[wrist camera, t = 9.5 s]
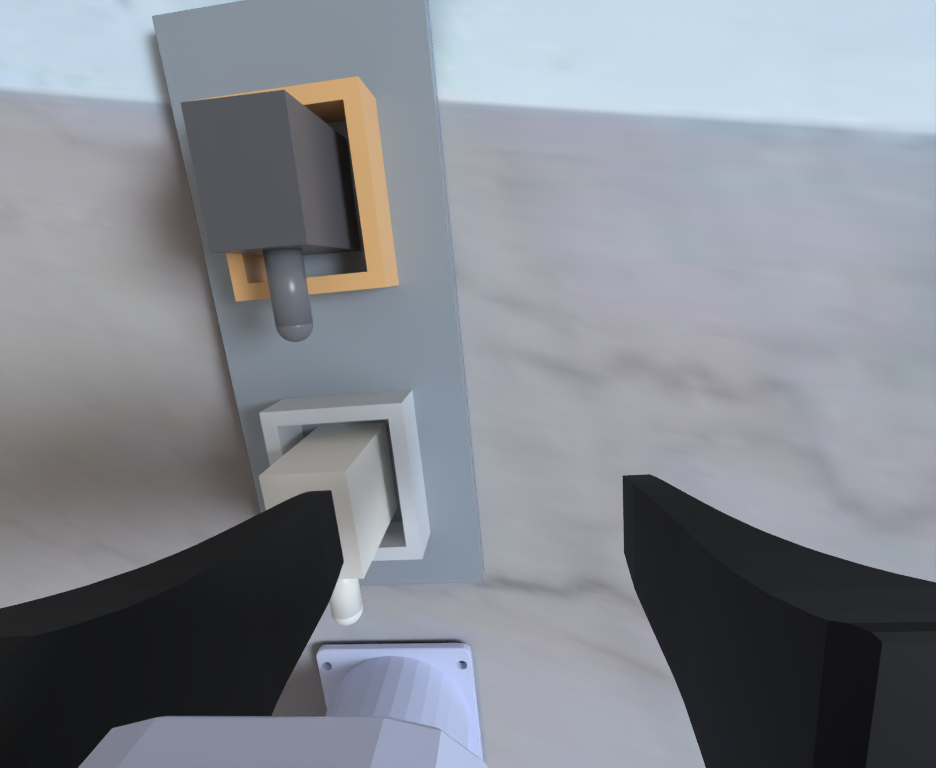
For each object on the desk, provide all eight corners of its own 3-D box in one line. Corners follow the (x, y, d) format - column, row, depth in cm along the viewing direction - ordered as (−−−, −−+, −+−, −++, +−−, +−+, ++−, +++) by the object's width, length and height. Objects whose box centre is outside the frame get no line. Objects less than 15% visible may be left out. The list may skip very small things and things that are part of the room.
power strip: (483, 568, 22) (475, 673, 17) (286, 574, 23) (213, 675, 18) (426, -13, 17) (383, -160, 11) (171, 29, 18) (9, -85, 12)
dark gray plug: (370, 326, 19) (322, 346, 14) (300, 331, 19) (230, 352, 14) (346, 139, 17) (283, 89, 13) (270, 147, 18) (180, 102, 13)
